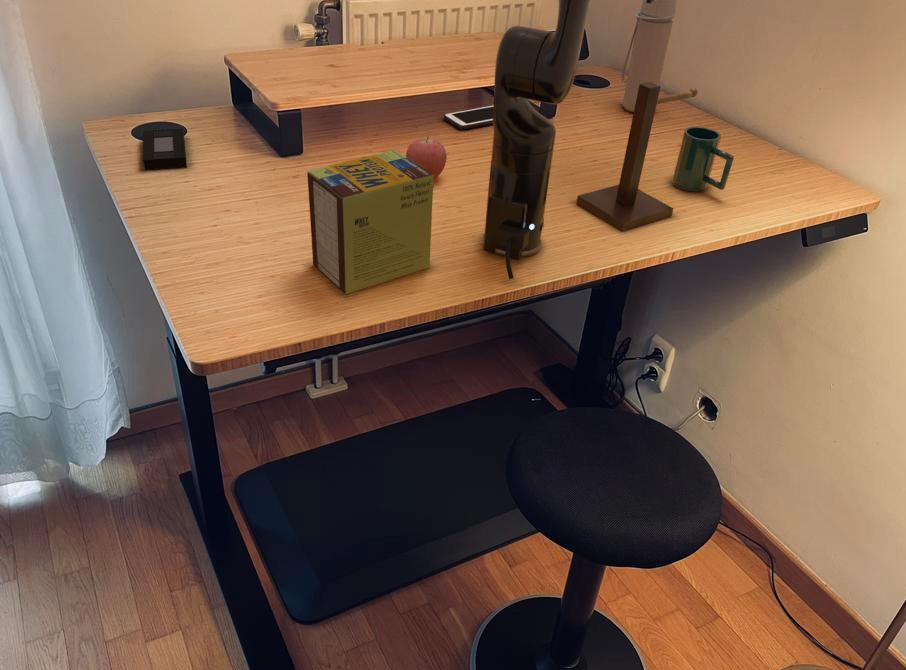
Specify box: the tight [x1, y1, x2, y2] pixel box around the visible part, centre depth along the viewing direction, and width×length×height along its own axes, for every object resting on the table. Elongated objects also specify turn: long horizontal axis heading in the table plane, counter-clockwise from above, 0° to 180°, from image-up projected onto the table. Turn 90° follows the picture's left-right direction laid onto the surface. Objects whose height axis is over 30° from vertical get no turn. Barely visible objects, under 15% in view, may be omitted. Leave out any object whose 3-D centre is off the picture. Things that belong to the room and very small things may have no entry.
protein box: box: [306, 149, 435, 295], centre depth 117 cm, size 10×15×16 cm
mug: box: [671, 126, 735, 193], centre depth 146 cm, size 11×6×10 cm, turn 33°
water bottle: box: [621, 0, 677, 114], centre depth 174 cm, size 9×8×25 cm
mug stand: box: [575, 82, 699, 232], centre depth 135 cm, size 18×12×22 cm
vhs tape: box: [142, 128, 188, 171], centre depth 151 cm, size 8×14×2 cm, turn 16°
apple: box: [405, 135, 448, 180], centre depth 145 cm, size 7×7×8 cm
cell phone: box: [443, 104, 494, 130], centre depth 172 cm, size 8×15×1 cm, turn 121°
